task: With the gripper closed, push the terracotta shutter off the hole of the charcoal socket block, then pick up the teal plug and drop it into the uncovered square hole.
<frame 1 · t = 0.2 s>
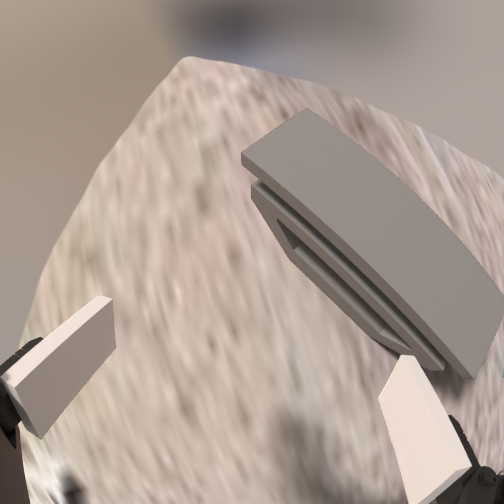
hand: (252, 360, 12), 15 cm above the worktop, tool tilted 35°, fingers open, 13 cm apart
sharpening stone: (352, 272, 29), on the worktop
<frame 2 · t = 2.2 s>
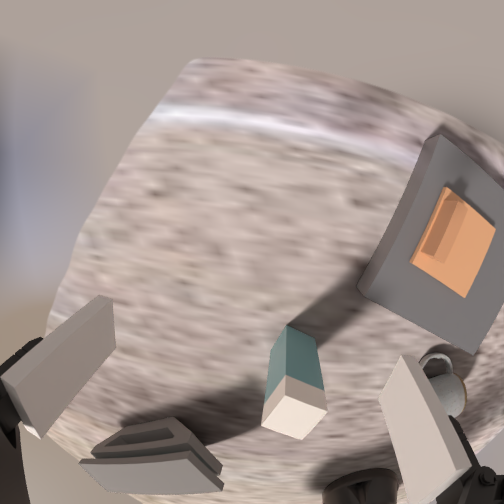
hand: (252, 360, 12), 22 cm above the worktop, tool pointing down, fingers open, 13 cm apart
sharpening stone: (162, 436, 40), on the worktop
terracotta shutter: (464, 246, 24), point 6 cm above the worktop, slide at 0.0 cm
teal plug: (292, 344, 34), on the worktop
ceramic mug: (424, 381, 33), on the worktop
socket block: (453, 250, 30), on the worktop
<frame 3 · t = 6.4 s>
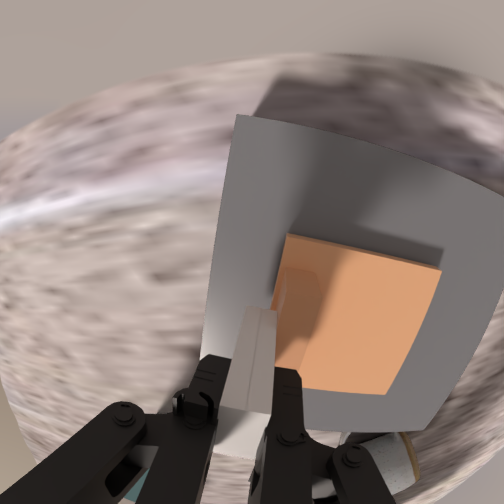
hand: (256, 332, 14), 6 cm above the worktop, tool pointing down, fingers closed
terracotta shutter: (352, 342, 14), point 6 cm above the worktop, slide at 1.1 cm, touching gripper
teal plug: (173, 431, 26), on the worktop
ceramic mug: (366, 438, 24), on the worktop
socket block: (358, 298, 20), on the worktop
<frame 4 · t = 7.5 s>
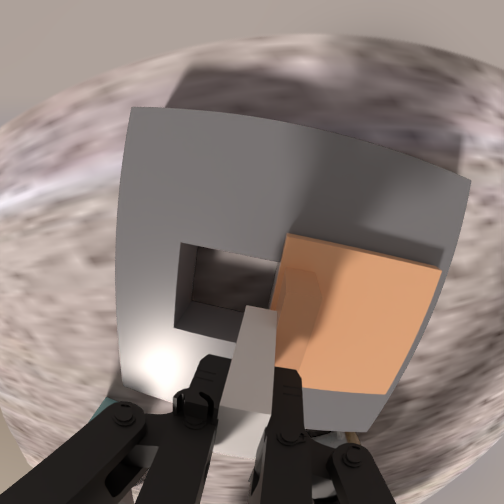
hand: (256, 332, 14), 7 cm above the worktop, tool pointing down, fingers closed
terracotta shutter: (352, 342, 14), point 6 cm above the worktop, slide at 7.2 cm, touching gripper
ceramic mug: (314, 435, 25), on the worktop
socket block: (276, 282, 20), on the worktop
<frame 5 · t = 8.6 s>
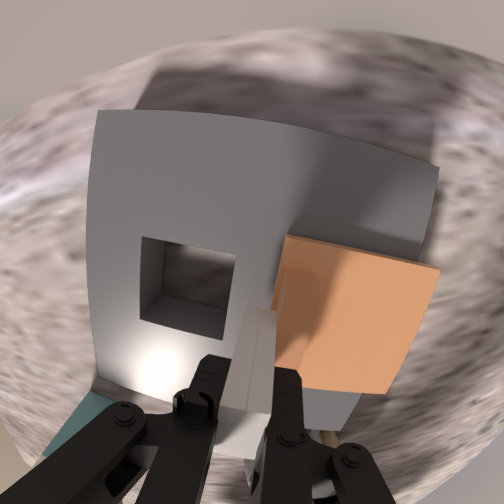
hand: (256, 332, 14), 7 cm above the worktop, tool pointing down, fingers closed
terracotta shutter: (351, 342, 14), point 6 cm above the worktop, slide at 9.6 cm, touching gripper
teal plug: (106, 407, 27), on the worktop
ceramic mug: (290, 431, 25), on the worktop
socket block: (241, 276, 20), on the worktop
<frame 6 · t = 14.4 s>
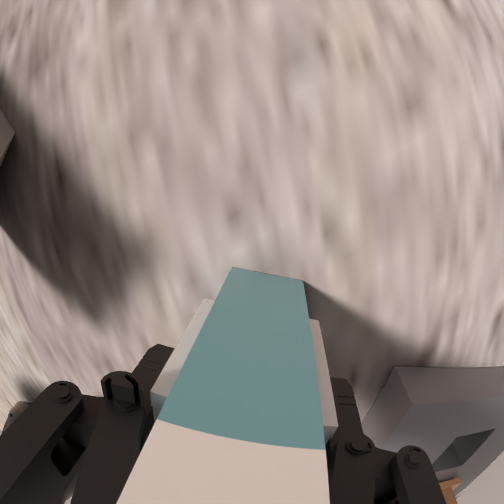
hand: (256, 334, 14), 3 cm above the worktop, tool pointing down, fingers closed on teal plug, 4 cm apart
teal plug: (261, 305, 17), on the worktop, touching gripper
socket block: (430, 443, 19), on the worktop
when the fingers open (6 cm above the worktop, at t = 21.2 s): teal plug drops 3 cm, resting in socket block.
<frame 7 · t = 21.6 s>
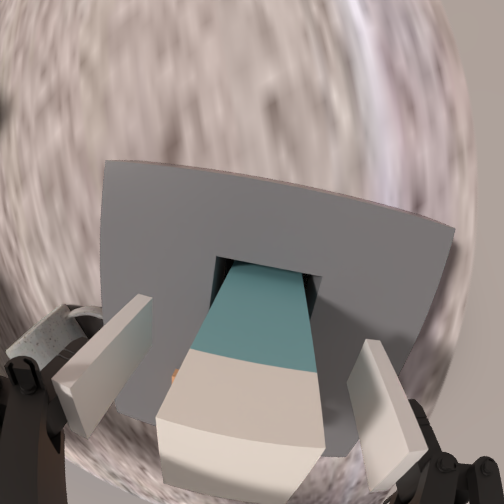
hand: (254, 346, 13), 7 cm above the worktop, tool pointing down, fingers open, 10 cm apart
terracotta shutter: (230, 444, 16), point 6 cm above the worktop, slide at 9.7 cm
teal plug: (264, 284, 19), resting in socket block
ceramic mug: (86, 334, 23), on the worktop
socket block: (256, 323, 20), on the worktop
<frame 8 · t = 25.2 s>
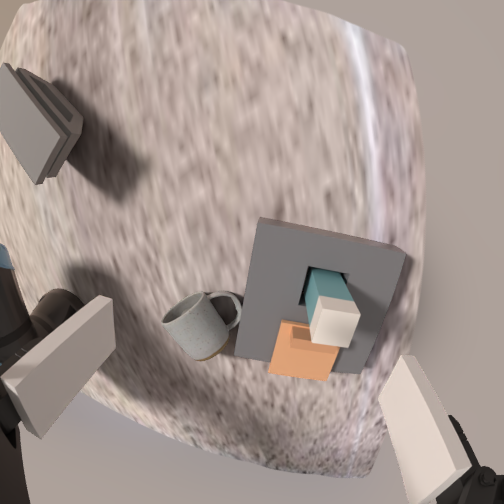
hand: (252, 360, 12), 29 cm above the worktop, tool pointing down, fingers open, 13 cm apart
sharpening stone: (57, 118, 37), on the worktop
terracotta shutter: (306, 358, 37), point 6 cm above the worktop, slide at 9.7 cm
teal plug: (320, 278, 40), resting in socket block
ceramic mug: (209, 310, 44), on the worktop
socket block: (315, 297, 41), on the worktop
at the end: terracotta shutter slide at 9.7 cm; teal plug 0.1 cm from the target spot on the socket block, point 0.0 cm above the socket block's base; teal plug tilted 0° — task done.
